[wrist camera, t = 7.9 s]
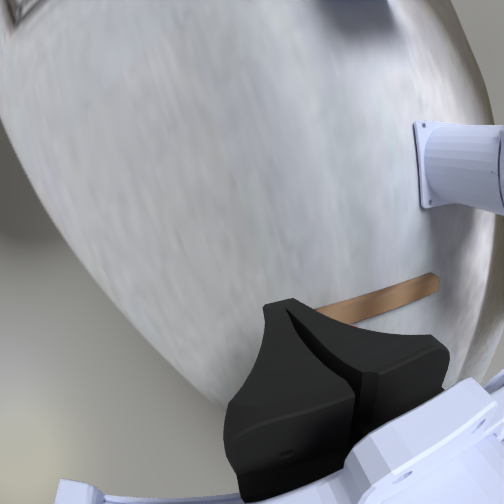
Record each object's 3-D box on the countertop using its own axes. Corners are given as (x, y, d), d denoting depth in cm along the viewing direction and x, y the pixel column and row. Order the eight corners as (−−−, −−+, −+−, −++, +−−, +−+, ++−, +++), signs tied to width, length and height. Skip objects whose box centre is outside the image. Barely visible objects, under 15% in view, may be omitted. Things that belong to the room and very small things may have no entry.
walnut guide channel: (430, 272, 24) (440, 277, 23) (418, 349, 27) (425, 356, 26) (278, 318, 23) (283, 327, 21) (289, 398, 26) (293, 408, 24)
